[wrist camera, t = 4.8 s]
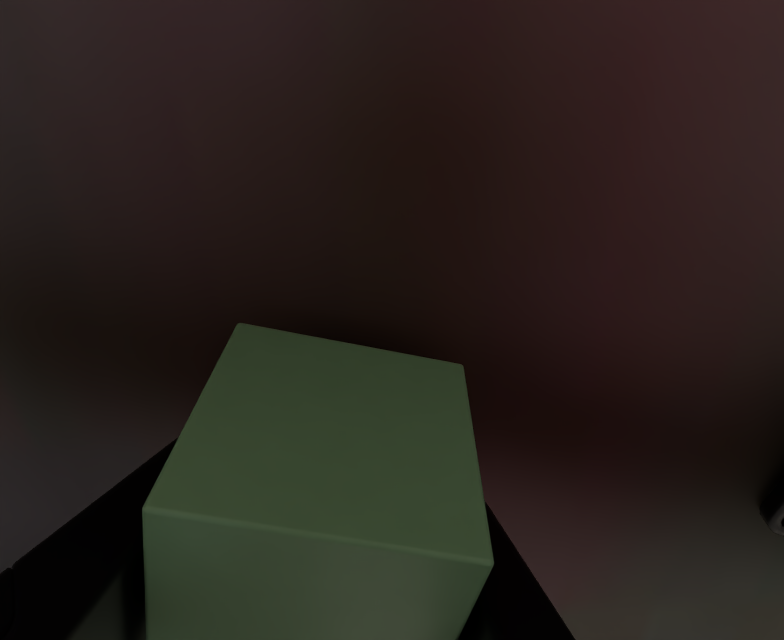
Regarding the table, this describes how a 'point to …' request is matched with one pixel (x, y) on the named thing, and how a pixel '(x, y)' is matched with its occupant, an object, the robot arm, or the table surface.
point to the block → (318, 499)
